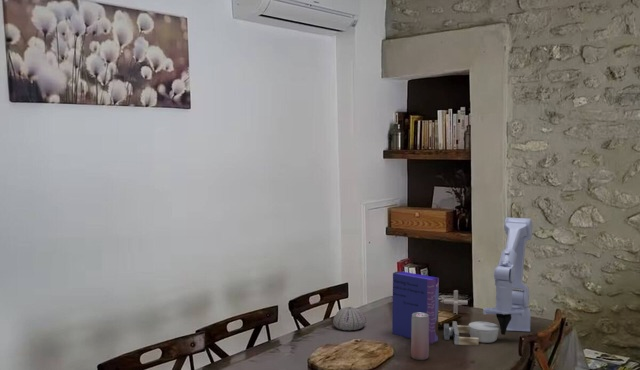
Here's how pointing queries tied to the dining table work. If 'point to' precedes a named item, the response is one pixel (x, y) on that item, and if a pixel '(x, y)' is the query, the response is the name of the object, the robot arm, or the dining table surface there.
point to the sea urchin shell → (349, 319)
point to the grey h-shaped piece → (451, 332)
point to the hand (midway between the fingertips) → (503, 333)
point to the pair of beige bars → (467, 339)
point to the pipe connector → (455, 302)
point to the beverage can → (420, 336)
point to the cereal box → (414, 302)
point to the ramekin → (484, 331)
